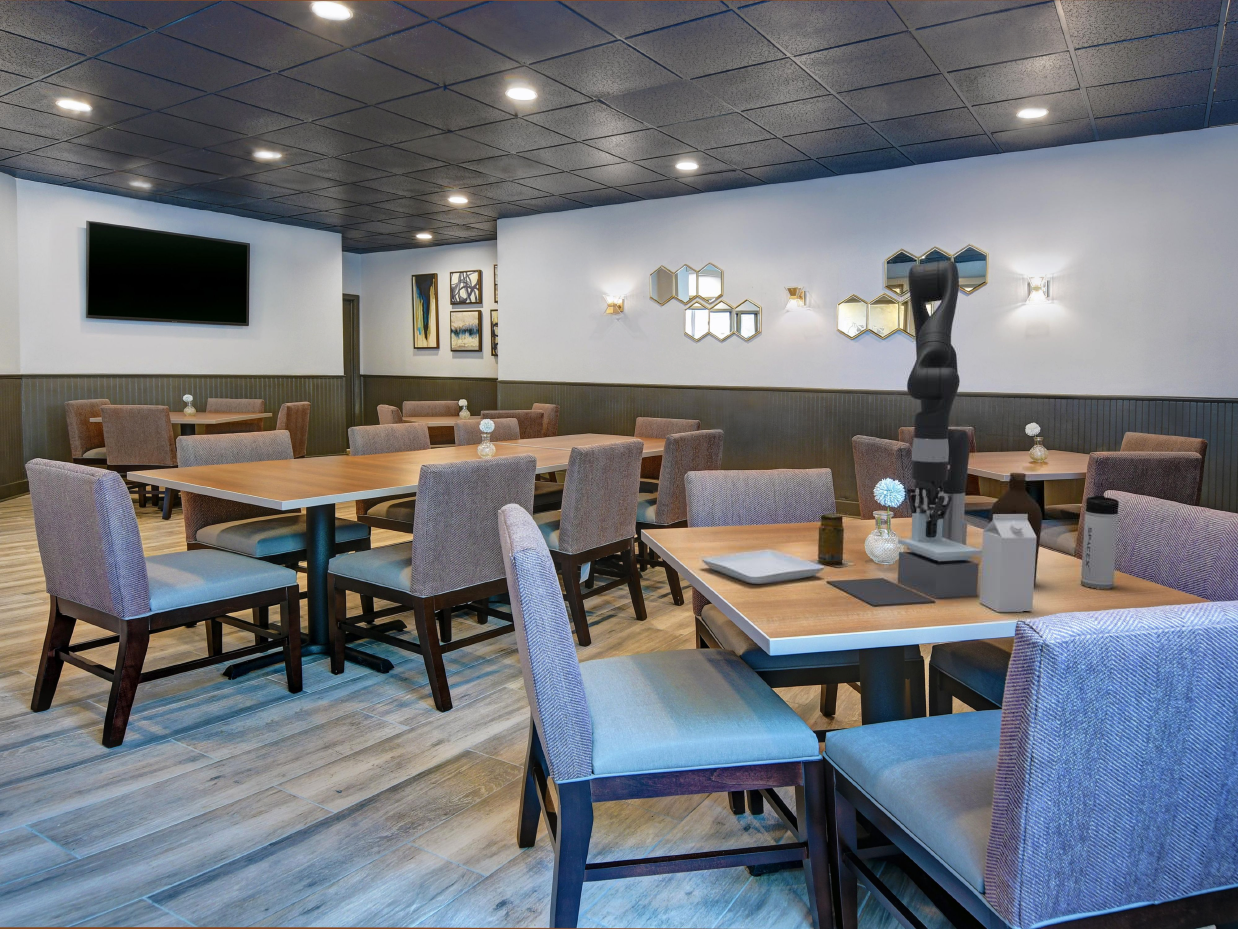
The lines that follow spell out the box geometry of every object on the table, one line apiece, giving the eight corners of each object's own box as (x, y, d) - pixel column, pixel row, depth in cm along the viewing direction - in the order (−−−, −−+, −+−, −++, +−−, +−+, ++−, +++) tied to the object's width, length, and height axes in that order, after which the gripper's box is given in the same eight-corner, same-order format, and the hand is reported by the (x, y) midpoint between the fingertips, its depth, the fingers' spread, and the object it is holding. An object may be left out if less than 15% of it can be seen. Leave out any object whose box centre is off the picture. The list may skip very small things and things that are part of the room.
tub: (897, 582, 183) (899, 551, 182) (936, 580, 185) (938, 550, 185) (935, 598, 170) (936, 565, 169) (977, 595, 172) (978, 563, 171)
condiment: (827, 558, 208) (829, 512, 207) (855, 564, 201) (857, 516, 200) (809, 562, 203) (811, 515, 202) (838, 568, 197) (839, 519, 196)
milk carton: (978, 603, 166) (983, 511, 164) (1012, 602, 167) (1017, 511, 165) (997, 613, 159) (1003, 517, 157) (1032, 612, 160) (1038, 517, 158)
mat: (882, 579, 186) (882, 577, 186) (935, 602, 166) (935, 600, 166) (826, 582, 182) (826, 580, 182) (873, 606, 163) (873, 604, 163)
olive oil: (1047, 589, 178) (1054, 476, 175) (999, 589, 178) (1005, 475, 175) (1023, 578, 188) (1030, 470, 186) (978, 577, 188) (983, 470, 186)
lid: (897, 548, 183) (899, 512, 182) (939, 546, 185) (940, 511, 184) (937, 562, 168) (939, 524, 168) (981, 560, 171) (983, 522, 170)
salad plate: (752, 590, 176) (752, 575, 176) (698, 570, 195) (698, 556, 195) (827, 580, 186) (827, 565, 186) (769, 562, 205) (769, 548, 205)
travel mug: (1108, 583, 183) (1115, 496, 181) (1116, 590, 177) (1122, 500, 175) (1077, 581, 185) (1083, 494, 183) (1083, 588, 179) (1089, 498, 177)
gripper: (965, 461, 173) (961, 541, 175) (926, 455, 187) (923, 529, 188) (934, 462, 171) (930, 542, 173) (897, 456, 185) (894, 530, 187)
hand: (926, 535), depth 181 cm, fingers closed on lid, 2 cm apart
